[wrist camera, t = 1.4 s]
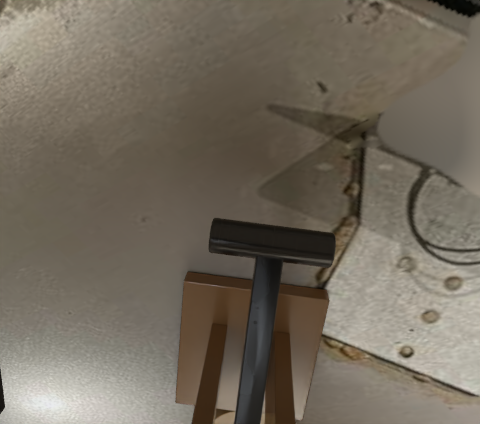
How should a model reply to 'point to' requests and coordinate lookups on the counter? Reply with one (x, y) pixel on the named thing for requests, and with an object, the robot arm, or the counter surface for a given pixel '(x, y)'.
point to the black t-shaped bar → (265, 292)
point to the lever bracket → (232, 344)
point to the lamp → (229, 417)
